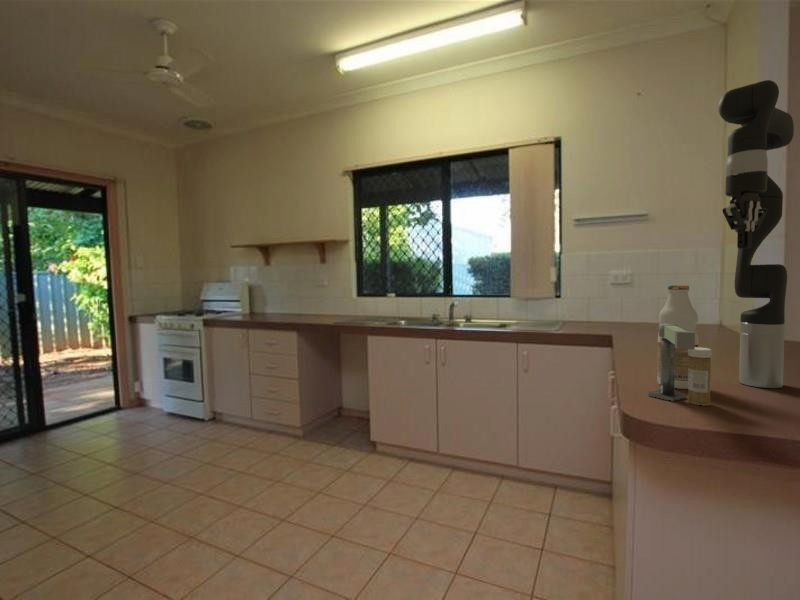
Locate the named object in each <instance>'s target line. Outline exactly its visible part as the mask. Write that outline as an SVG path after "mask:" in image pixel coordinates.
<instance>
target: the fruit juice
mask: <svg viewBox="0 0 800 600" xmlns="http://www.w3.org/2000/svg"><path fill="white" fill-rule="evenodd" d="M667 291H668V296H667V299H666V300H665V304H664V306H663V307H662V309H661V310H659V311H660V312H659V313H658V321H659V324H676V325H678V327H679V328H681V329H683V330H685V331H692V332H694V333H695V347H699V336H698V335H699V334H698V332H697V329H696V328H697V324H698V321H699V315H698V313H697V311H696V310H695V308H694V307H693V305H692V302H691V300H690V298H689V294H688V293H689V291H690V286H689V285H687V284H686V285H675V284H674V285H667ZM661 338H664V337H660V336H659V332H658V334H657V368H656V369H657V370H656V372H657V374H656V375H657V377H656V379H657V383H658V384H659V385H660V384H661ZM688 356H689V355H688V349H676V348H675V384H674V389H676V388H677V389H679V390H689V389H688V373H689V357H688Z"/></svg>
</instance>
